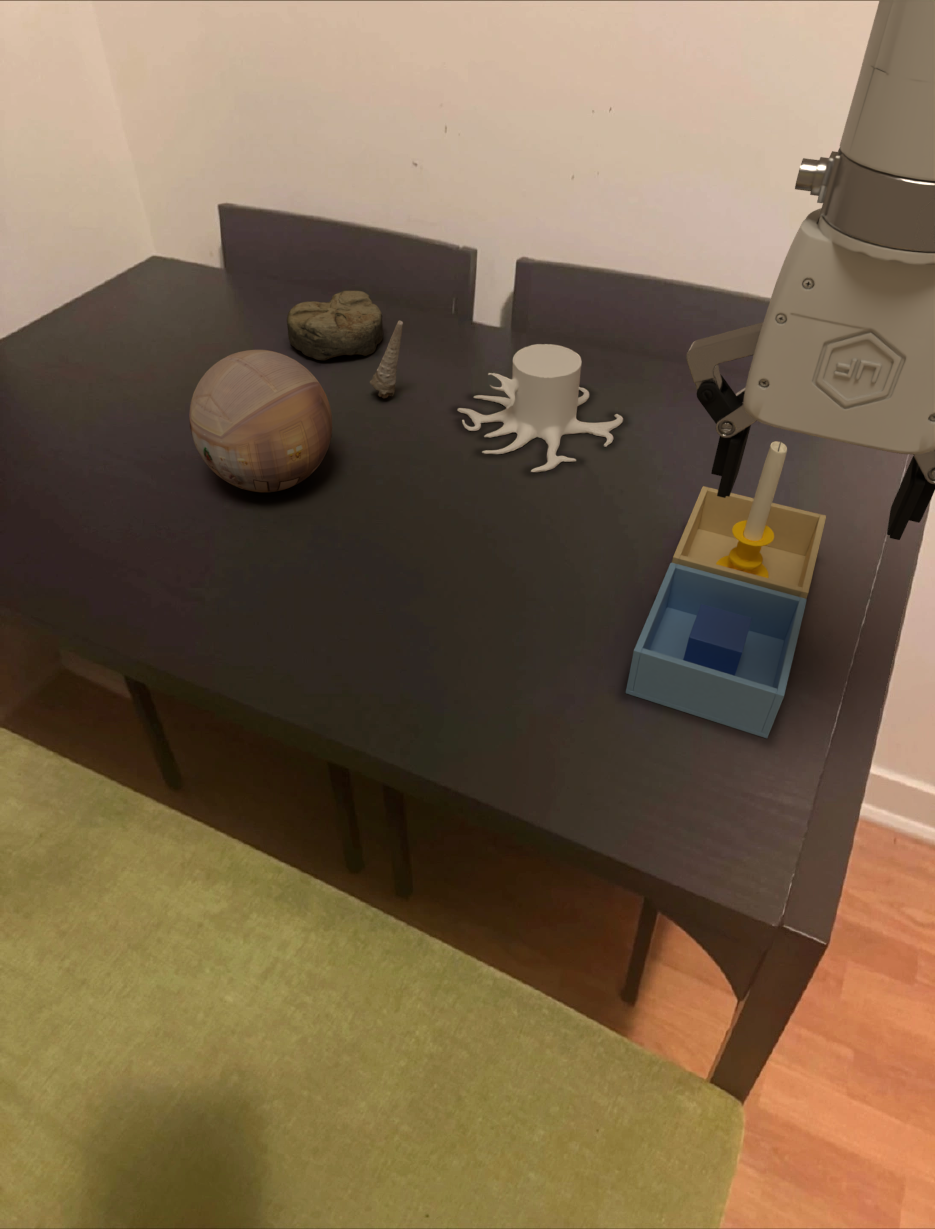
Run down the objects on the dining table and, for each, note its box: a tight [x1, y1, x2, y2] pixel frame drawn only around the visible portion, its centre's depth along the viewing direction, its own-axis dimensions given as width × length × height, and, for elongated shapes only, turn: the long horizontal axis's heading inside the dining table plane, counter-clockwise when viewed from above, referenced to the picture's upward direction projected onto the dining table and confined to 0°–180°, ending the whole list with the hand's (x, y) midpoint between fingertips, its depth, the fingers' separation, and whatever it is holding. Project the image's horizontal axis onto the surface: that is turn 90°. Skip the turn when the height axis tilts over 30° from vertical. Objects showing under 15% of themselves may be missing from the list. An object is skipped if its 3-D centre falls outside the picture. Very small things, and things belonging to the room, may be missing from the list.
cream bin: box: [671, 485, 827, 599], centre depth 83 cm, size 12×12×6 cm
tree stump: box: [456, 343, 624, 473], centre depth 103 cm, size 20×19×8 cm
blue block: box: [683, 604, 752, 676], centre depth 75 cm, size 4×4×4 cm
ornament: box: [188, 349, 333, 493], centre depth 92 cm, size 15×15×15 cm
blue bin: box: [625, 562, 808, 739], centre depth 75 cm, size 12×12×6 cm
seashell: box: [369, 320, 404, 399], centre depth 106 cm, size 3×5×11 cm, turn 70°
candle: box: [716, 440, 788, 578], centre depth 79 cm, size 5×5×16 cm
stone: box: [286, 290, 384, 361], centre depth 119 cm, size 13×13×5 cm
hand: (808, 504), depth 51 cm, fingers open, 9 cm apart
